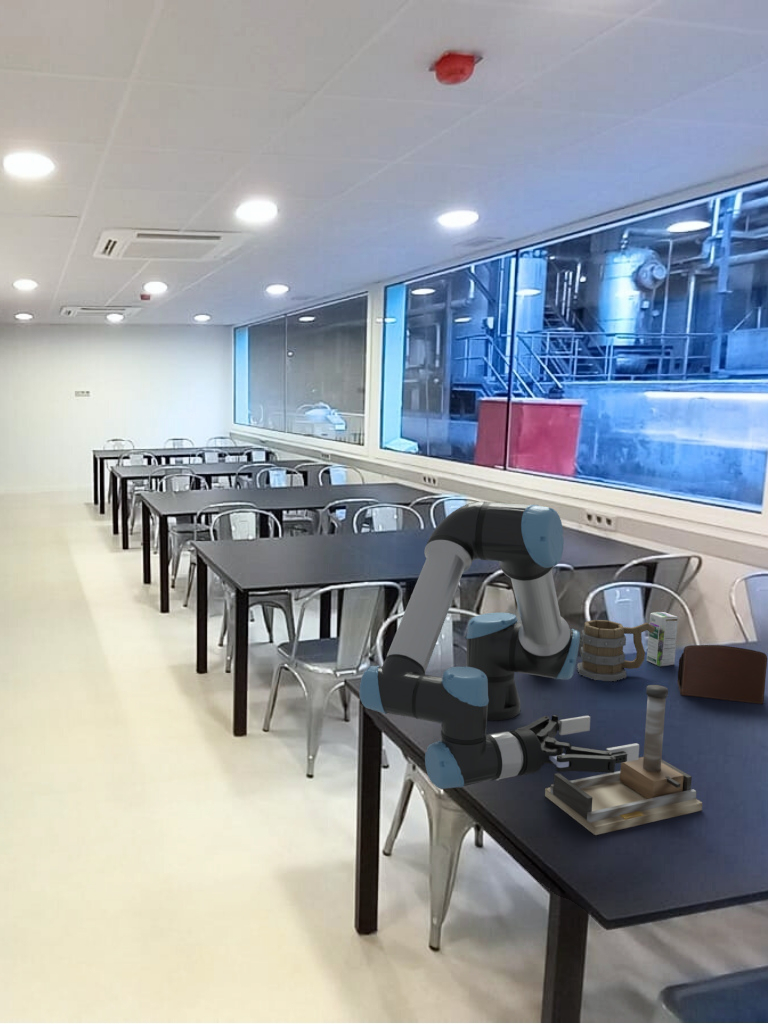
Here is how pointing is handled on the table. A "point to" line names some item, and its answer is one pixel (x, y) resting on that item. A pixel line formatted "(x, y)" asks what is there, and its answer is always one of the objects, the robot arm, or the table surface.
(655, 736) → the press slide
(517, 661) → the robot arm
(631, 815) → the press bed
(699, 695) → the letter holder
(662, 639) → the syrup box
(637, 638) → the tankard
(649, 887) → the table surface
